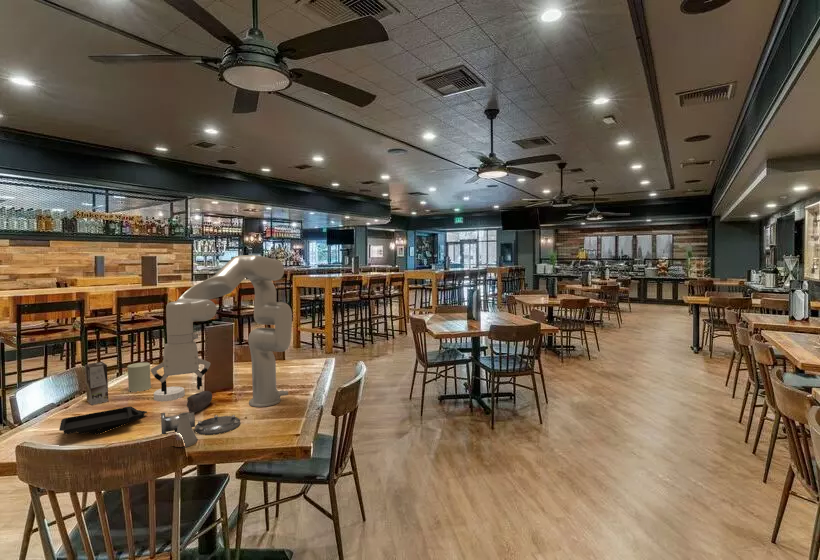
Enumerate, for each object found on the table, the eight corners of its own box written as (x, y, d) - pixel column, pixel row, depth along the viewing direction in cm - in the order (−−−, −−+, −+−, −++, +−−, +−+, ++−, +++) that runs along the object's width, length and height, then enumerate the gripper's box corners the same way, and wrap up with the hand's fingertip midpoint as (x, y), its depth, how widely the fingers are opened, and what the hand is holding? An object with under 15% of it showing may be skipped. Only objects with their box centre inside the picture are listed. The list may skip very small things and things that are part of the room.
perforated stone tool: (206, 402, 183) (205, 386, 183) (217, 402, 183) (217, 386, 182) (182, 415, 169) (181, 397, 168) (195, 415, 168) (194, 398, 167)
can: (123, 390, 201) (122, 365, 200) (142, 385, 209) (141, 360, 209) (137, 392, 197) (136, 367, 197) (155, 387, 206) (154, 362, 205)
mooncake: (157, 394, 195) (157, 387, 195) (187, 392, 199) (186, 384, 198) (150, 403, 183) (150, 395, 183) (181, 400, 187) (181, 392, 187)
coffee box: (109, 401, 186) (107, 364, 185) (91, 405, 181) (89, 367, 180) (104, 397, 192) (102, 361, 191) (86, 400, 187) (84, 364, 186)
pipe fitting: (237, 415, 167) (236, 395, 166) (243, 429, 154) (242, 406, 153) (162, 429, 154) (161, 407, 154) (162, 445, 141) (160, 420, 141)
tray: (113, 412, 174) (112, 399, 173) (164, 414, 170) (164, 401, 169) (37, 444, 144) (36, 428, 144) (97, 448, 140) (97, 432, 140)
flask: (186, 449, 138) (185, 418, 138) (167, 447, 140) (165, 417, 139) (202, 439, 145) (200, 410, 145) (183, 438, 147) (182, 409, 146)
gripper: (208, 335, 148) (210, 384, 149) (149, 340, 140) (151, 392, 140) (210, 338, 142) (212, 389, 142) (149, 343, 133) (151, 398, 134)
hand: (182, 391), depth 141 cm, fingers open, 9 cm apart
